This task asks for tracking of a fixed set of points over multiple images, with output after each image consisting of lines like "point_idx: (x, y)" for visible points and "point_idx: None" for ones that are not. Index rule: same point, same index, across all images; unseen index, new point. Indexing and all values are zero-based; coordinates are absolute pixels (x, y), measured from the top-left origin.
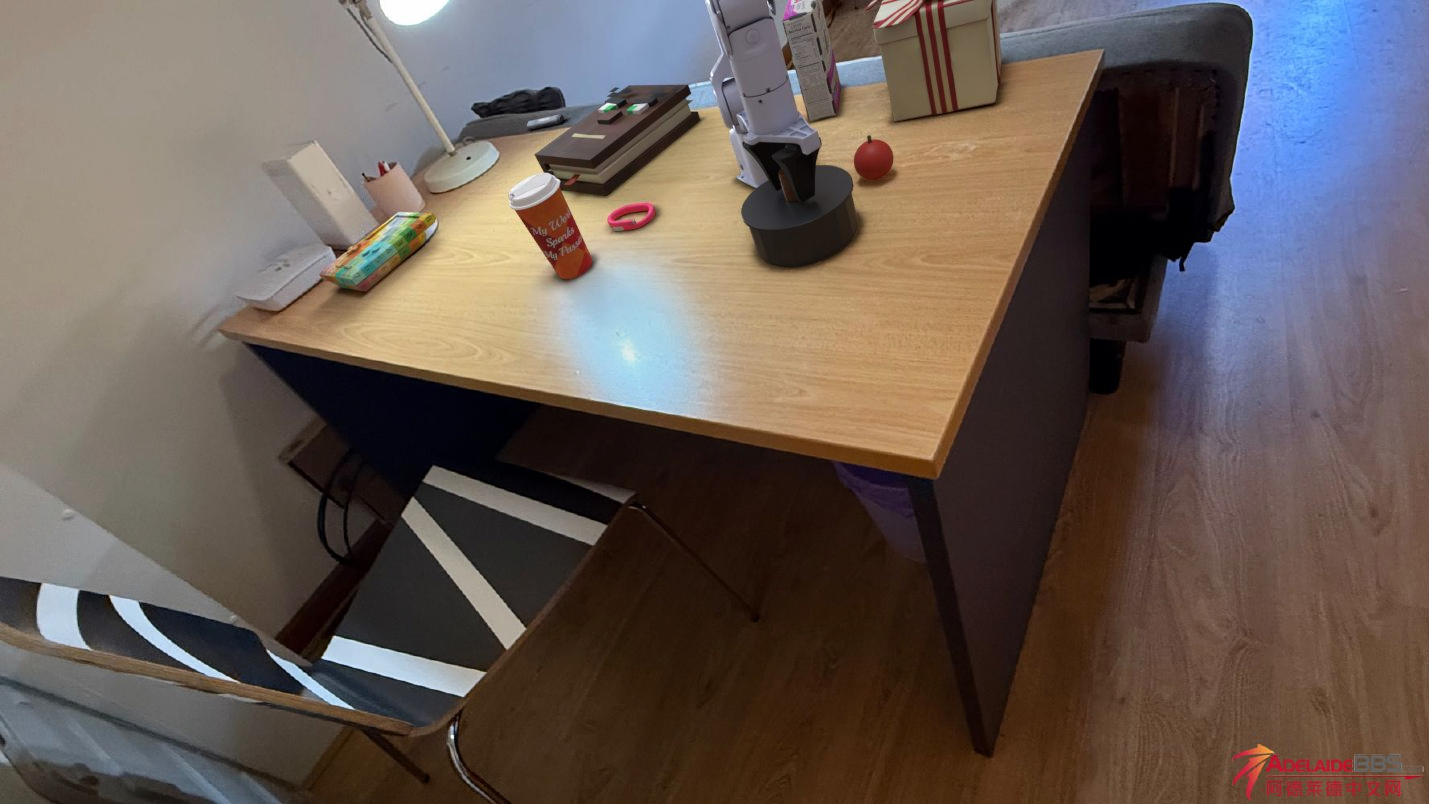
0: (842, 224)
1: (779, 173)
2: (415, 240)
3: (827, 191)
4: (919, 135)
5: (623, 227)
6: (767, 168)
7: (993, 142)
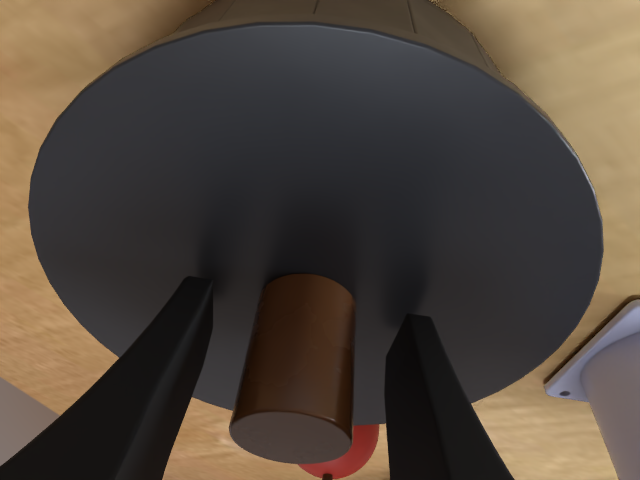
0: None
1: (310, 419)
2: None
3: None
4: None
5: None
6: (434, 442)
7: (204, 450)
